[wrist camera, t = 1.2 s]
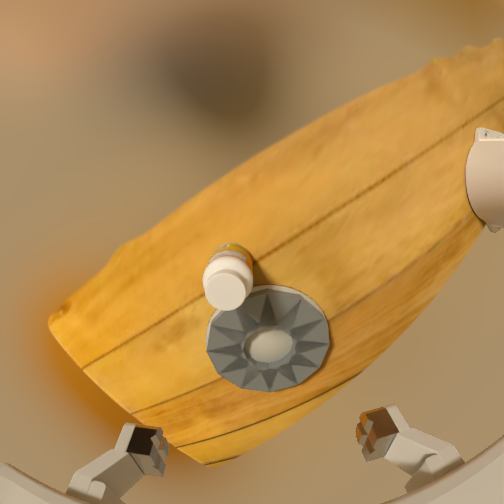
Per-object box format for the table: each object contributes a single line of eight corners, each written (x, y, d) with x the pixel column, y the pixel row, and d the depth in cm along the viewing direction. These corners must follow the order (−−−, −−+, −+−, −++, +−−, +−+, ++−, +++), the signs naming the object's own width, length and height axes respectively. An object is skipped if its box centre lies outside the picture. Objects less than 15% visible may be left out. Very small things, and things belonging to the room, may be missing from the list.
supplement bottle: (244, 286, 36) (243, 324, 27) (206, 274, 36) (191, 307, 26) (258, 249, 35) (261, 276, 25) (217, 236, 34) (206, 258, 25)
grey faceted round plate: (313, 267, 35) (317, 272, 33) (335, 365, 40) (339, 373, 38) (187, 305, 37) (183, 312, 35) (231, 393, 41) (230, 402, 39)
